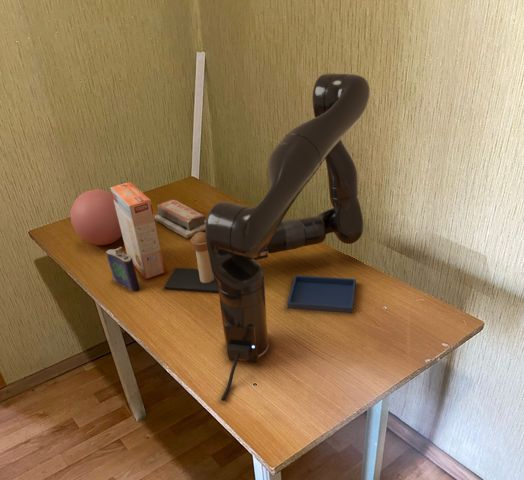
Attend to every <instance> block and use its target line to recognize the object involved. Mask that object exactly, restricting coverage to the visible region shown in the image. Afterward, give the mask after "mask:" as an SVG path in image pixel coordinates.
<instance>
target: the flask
mask: <svg viewBox="0 0 524 480" xmlns="http://www.w3.org/2000/svg"><path fill="white" fill-rule="evenodd" d="M122 249H123V247H122V246H118V247H117V248H115V249H114V248H112V249H108V250H106V251H105V255H106V258H107V262H108V264H109V268H110V272H111V275H112V279H113V281H114V283H115V284H117V285H120V286H121V287H123V288H126V289H128V290H129V291H131V292H139V291H140V290H141V286H140V283H139V279H138V276H137V272H136V269H135V268H136V267H135V266H134V264H133V260H132V258H131V257H129V256H128V255H127V253H126V252H124V251H122Z"/></svg>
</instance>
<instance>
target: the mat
mask: <svg viewBox="0 0 524 480" xmlns="http://www.w3.org/2000/svg"><path fill="white" fill-rule="evenodd" d="M164 290H168V291H183V292H197V293H212V294H219V290H218V283H217V280H216V278H215V277H214V280H213V281H212V282H210V283H203V282H201V281H200V276H199V270H198V268H184V267H183V268H182V267H175V268H174V270H173V271H172V273H171V275H170V277H169V278H168V280H167V282H166V283H165V285H164Z"/></svg>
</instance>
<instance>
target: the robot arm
mask: <svg viewBox="0 0 524 480" xmlns="http://www.w3.org/2000/svg"><path fill="white" fill-rule="evenodd" d="M370 94H371V88H370V84H369V81H368V80H367V79H366V78H365V77H363V76H361V75H359V74H353V73H334V72H333V73H331V72H330V73H329V72H328V73H323V74H321V75H319V76H318V77H317V79H316V80H315V83H314V85H313V89H312V97H311V101H312V109H313V115H314V117H313V118H311V119H309V120H307V121H305V122H302V123H301V124H299V125H297V126H295V127H294V128H291V130H289V131H288V132H287V133H286V134H285V135H284V136H283V137H282V138H281V140H280V141H279V142H278V143H277V144H276V146H274V148H273V150H272V151H271V153H270V155H268V156H269V157H268V159H267V163H266V177H267V191H266V193H265V195H264V197H263V198H262V199H261V200H260V202H259V203H258V204H256V205H255V206H252V207H251V206H248V205H243V204H240V203H236V202H232V201H225V200H223V201H218V202H216V203H214V205H212V207H211V208H210V209H209V212H208V213H207V216H206V219H205V220H206V226H205V230H204V233H205V235H206V243H207V248H208V253H209V258H210V263H211V268H212V272H213V275H214V277H215V278H216V280H217V283H218V290H219V293H218V296H219V305H220V311H221V312H220V313H221V320H222V321H221V322H222V327H223V335H224V342H225V352H226V354H227V358H228V360H229V361H232V362H233V364H232V366H231V369H230V373H229V376H228V377H229V378H228V382H227V384H226V388H225V390H224V392H223V394H222V396H221V398H220V400H221V401H223V402H225V400H226V398H227V396H228V394H229V392H230V389H231V386H232V384H233V379H234V375H235V371H236V368H237V365H238V362H243V363H253V364H254V363H255V364H257V363H258V361H259V360H260V359H261V358H263V357H265V355H267V353H268V351H269V349H270V343H269V334H268V320H267V305H266V289H265V286H266V285H265V274H264V269H263V266H262V265H261V263H259V262H258V261H257V260H262V259H266V258H268V257H269V254H275V253H280V252H281V253H282V252H287V251H291V250H296V249H300V248H303V247H308V246H314V245H319V244H321V243H323V242H324V241H325V240H326V238H327V235H328V234H331V233H334V234H335V236H336V238H338V241H340V242H341V243H343V244H347V245H352V244H355V243H356V242H357V241H358V240H360V238H362V235H363V233H364V216H363V211H362V208H361V203H360V198H359V175H358V174H359V173H358V169H357V166H356V164H355V161H354V158H353V157H352V155H351V154H350V152H349V150H348V149H347V147H346V145H345V143H344V142H343V137H344V136H345V135H346V134H347V133H349V132H350V130H351V129H353V127H354V126H355V125H356V124H357V123H358V122H359V121H360V119H361V118H362V117H363V115H364V113H365V112H366V110H367V107H368V104H369V100H370V96H371V95H370ZM324 161H325V165H326V171H327V180H328V181H327V182H328V192H329V193H328V194H329V200H330V203H331V205H332V208H330V209H327V210H325V211H322V212H320V213H318V214H316V215H313V216H306V217H301V218H289V219H284V218H285V216H286V214H287V213H288V211H289V210H290V209H291V207H292V205H293V204H294V203H295V201H296V199H297V198H298V196H299V195H300V194H301V192H302V191H303V189H304V188H305V187H306V186H307V184H308V183H309V182H310V181H311V180H312V178H313V177H314V175H315V174H316V172H317V171H318V170H319V169H320V167H321V166H322V164H323V162H324Z"/></svg>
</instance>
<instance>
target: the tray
mask: <svg viewBox="0 0 524 480" xmlns="http://www.w3.org/2000/svg"><path fill="white" fill-rule="evenodd" d="M356 285H357V279H356V278H344V277H343V278H342V277H330V276H329V277H328V276H312V275H297V274H296V275H294V277H293V281H292V284H291V289H290V291H289V296H288V299H287V302H286V304H287V307H286V308H287V309H288V310H290V309H291V310H302V311H316V312H328V313H344V314H353V311H354V310H353V309H354V301H355V293H356Z"/></svg>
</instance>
